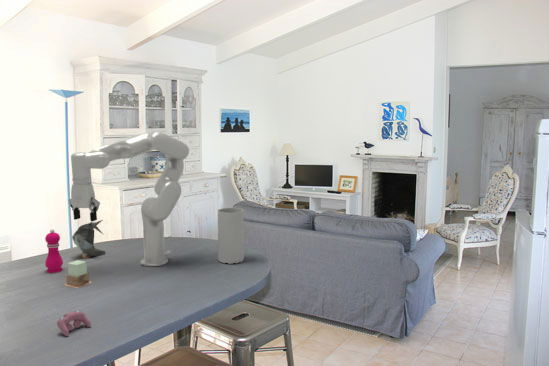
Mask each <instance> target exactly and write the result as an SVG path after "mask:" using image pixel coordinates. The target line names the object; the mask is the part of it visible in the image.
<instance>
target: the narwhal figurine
mask: <svg viewBox="0 0 549 366" xmlns="http://www.w3.org/2000/svg"><path fill="white" fill-rule="evenodd" d="M102 221H104V219H101V220H98V221H90V222H89V223H85V224H82V225H80V226H79V227H78V228H77V230H76V231H74V233H73V235H72V237H71V238H72V240H73V243H74V244H75V246H76V247H77V248H78V249H79V250H80V251H82V259H85V258H87V259H88V258H89V259H90V258H91V257H97V256H102V255H106V250H102V249H99V248H96V247H95V244H94V243H95V230H96V231H98V232H99V233H101V235H105V234H104V233H103V231H101V229H100V228H99V227H98V225H99V224H100V223H102Z"/></svg>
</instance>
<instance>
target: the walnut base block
mask: <svg viewBox="0 0 549 366" xmlns="http://www.w3.org/2000/svg"><path fill="white" fill-rule="evenodd" d="M89 282H90V277H89V272H87V274H84V275H81V276H78V277H75V276H71V275H69V274H68V273H67V274H66V284H67V285H71V286H75V287H78V286H81V285H84V284H86V283H89ZM84 286H85V285H84Z"/></svg>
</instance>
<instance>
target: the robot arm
mask: <svg viewBox="0 0 549 366" xmlns="http://www.w3.org/2000/svg"><path fill="white" fill-rule="evenodd" d="M154 150H155V151H158V152H159V153H162V154H163V155H165V160H166V163H165V166H164V168H163V170H162V172H161V174H160V176H159V178H158V180H157V181H156V183H155V184H154V188H153V189H154V192H155V194H156V195H157V197H155V196H154V197H153V196H152V197H147V198H145V199H144V200H143V202H142V203H141V206H140V207H141V208H140V212H141V217H142V218H141V219H142V228H143V229H142V232H143V234H142V235H143V258H142V259H141V260H140V264H141V265H142V266H145V267H160V266H163V265H166V264H168V263H169V259H168V258H167V256H169V255H171V251H170V250H167V251H165V233H164V232H165V229H164V228H165V226H164V224H165V223H164V221H165V220H167V218H169V216H170V215H171V214H172V212H173V210H174V208H175V206H176V205H177V203H178V201H179V199H180V197H181V195H182V186H181V184H180V182H179V181H180V178H181V176H183V172H184V167H185V163H184V162H185V161H184V160H185V159H187V157H189V153H190V149H189V146H188V145H187V144H186V143H185V142H183V141H181V140H178V139H177V138H175V137H172V136H170V135H168V134H166V133H164V132H161V131H157V130H156V131H155V130H150V131H147V132H144V133H142V134H139V135H136V136H133V137H130V138H127V139H123V140H120V141H118V142H114V143H111V144H107V145H103V146H100V147H98V148H96V149H92V150H90V151H89V152H73V153H72V154H71V156H70V161H71V162H70V163H71V176H72V184H71V189H70V193H71V194H70V196H71V197H70V199H67V201H68V204H69V207H70V208H71V211H73V212H72V213H73V220H74V221H75V220H79V219H81V209H88V210H89V211H90V212H89V219H90V220H89V221H90V222H97V220H98V216H97V212H98V210H99V208H100V205H101V201H98V200H97V199H96V195H95V188H94V185H93V182H92V181H93V180H92V171H91V169H98V170H100V169H101V170H102V169H104V168H107V167H108V166H109V165H110V162H112V161H116V160H122V159H123V160H124V159H133V158H136V157H138V156H141V155H144V154H146V153H149V152H151V151H154Z"/></svg>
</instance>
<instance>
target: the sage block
mask: <svg viewBox="0 0 549 366" xmlns="http://www.w3.org/2000/svg"><path fill="white" fill-rule="evenodd" d="M67 269H68V273H67V275H68V274H69V275H71V276H75V277H78V276H81V275H84V274H87V273H88V268H87V261H83V260H78V259H76V260H74V261H71V262H68V263H67Z"/></svg>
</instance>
